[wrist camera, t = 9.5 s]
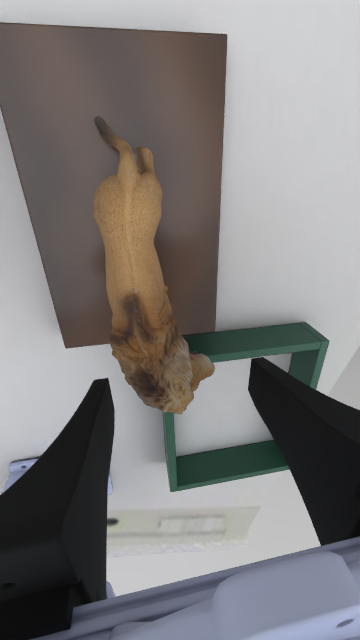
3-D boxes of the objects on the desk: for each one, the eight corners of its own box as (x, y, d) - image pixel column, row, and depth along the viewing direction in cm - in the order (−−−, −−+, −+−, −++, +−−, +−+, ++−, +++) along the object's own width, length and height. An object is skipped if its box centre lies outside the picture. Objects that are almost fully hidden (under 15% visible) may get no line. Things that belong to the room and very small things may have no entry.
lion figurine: (194, 329, 22) (231, 413, 14) (131, 347, 21) (132, 443, 14) (141, 107, 15) (158, 19, 7) (46, 131, 14) (-53, 68, 6)
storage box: (166, 463, 32) (170, 492, 29) (156, 338, 24) (160, 361, 21) (279, 443, 34) (294, 468, 31) (306, 321, 26) (330, 340, 23)
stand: (70, 335, 22) (65, 348, 20) (-5, 41, 14) (-24, 20, 12) (208, 321, 24) (215, 332, 22) (216, 50, 16) (227, 33, 14)
